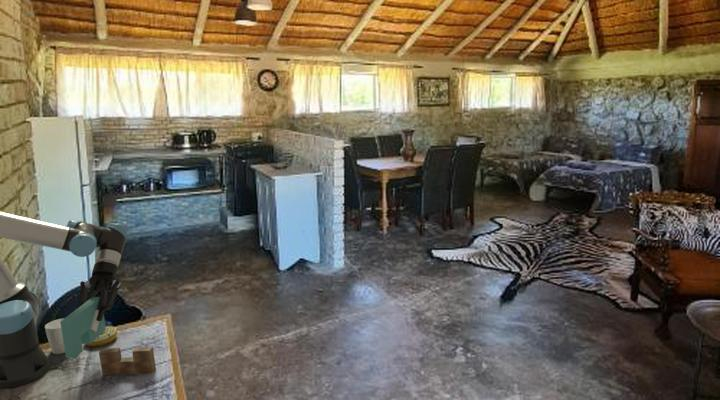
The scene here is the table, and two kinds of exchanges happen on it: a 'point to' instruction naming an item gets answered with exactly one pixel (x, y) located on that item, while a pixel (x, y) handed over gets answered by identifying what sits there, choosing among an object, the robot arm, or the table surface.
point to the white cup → (55, 336)
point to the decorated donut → (105, 337)
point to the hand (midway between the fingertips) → (87, 330)
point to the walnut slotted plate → (127, 361)
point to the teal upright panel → (81, 328)
